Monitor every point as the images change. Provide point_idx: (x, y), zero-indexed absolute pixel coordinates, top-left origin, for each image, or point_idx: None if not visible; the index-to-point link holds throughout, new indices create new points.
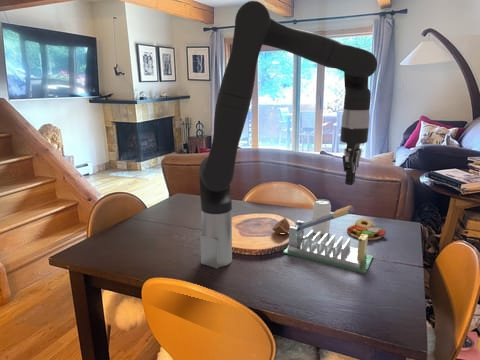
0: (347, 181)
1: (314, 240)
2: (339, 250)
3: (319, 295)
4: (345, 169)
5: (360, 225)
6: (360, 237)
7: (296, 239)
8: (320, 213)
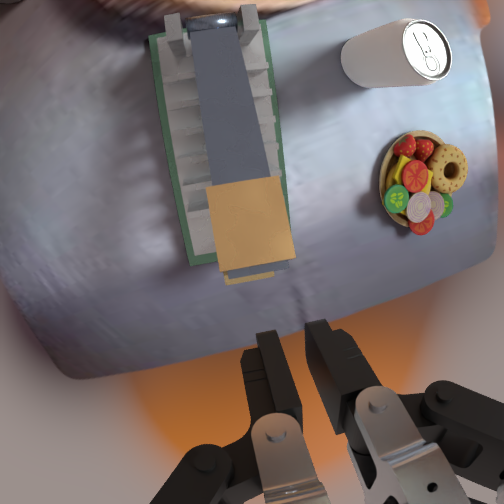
0: (243, 369)
1: None
2: None
3: (43, 227)
4: (187, 476)
5: (437, 164)
6: None
7: (178, 49)
8: (378, 55)
